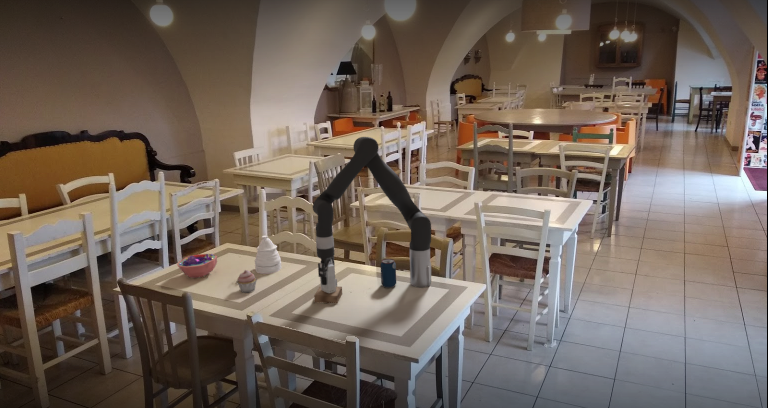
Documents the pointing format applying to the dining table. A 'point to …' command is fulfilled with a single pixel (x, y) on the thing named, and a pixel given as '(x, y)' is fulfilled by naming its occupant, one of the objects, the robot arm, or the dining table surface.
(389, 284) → the soda can
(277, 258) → the honey pot
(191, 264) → the cell model
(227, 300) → the dining table surface
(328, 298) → the walnut block
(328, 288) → the skincare box
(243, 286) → the cupcake
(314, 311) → the dining table surface
